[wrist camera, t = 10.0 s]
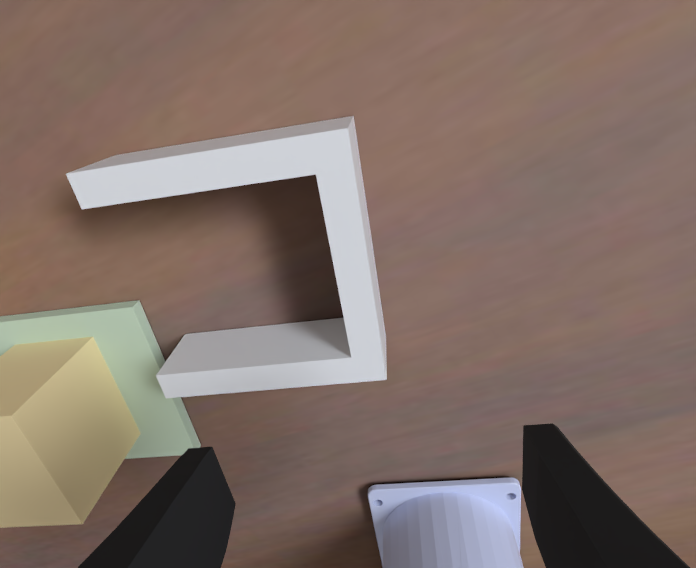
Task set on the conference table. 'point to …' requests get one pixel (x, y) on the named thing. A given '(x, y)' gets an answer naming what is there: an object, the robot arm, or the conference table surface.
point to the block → (58, 432)
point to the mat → (117, 366)
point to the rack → (344, 239)
